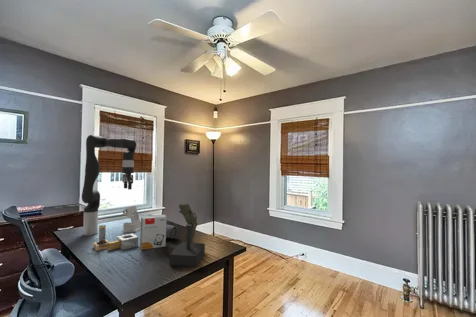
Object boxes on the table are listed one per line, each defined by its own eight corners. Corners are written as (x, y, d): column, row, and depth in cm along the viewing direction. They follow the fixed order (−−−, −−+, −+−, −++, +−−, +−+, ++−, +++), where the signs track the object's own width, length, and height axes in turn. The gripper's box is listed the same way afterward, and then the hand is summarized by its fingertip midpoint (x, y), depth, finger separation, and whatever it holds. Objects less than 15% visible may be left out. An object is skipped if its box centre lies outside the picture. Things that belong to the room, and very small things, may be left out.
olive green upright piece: (203, 246, 150) (194, 201, 153) (198, 250, 143) (189, 203, 146) (185, 248, 155) (177, 204, 157) (179, 252, 148) (171, 206, 150)
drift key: (107, 249, 144) (108, 242, 144) (123, 245, 150) (123, 239, 150) (109, 250, 142) (109, 243, 142) (124, 246, 148) (124, 240, 149)
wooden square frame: (93, 247, 148) (93, 242, 148) (107, 244, 153) (107, 239, 153) (96, 250, 142) (96, 246, 142) (110, 247, 148) (110, 242, 148)
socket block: (116, 245, 151) (117, 236, 151) (132, 242, 158) (132, 233, 158) (121, 250, 144) (122, 240, 144) (138, 246, 151) (138, 237, 151)
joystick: (179, 252, 143) (179, 220, 143) (205, 253, 141) (205, 221, 141) (166, 266, 124) (167, 229, 124) (196, 268, 122) (196, 230, 122)
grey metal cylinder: (97, 247, 148) (98, 225, 148) (104, 245, 150) (104, 224, 150) (99, 249, 145) (99, 226, 145) (106, 247, 148) (106, 225, 148)
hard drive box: (140, 250, 144) (141, 218, 144) (139, 246, 151) (140, 216, 151) (166, 246, 151) (166, 216, 151) (164, 242, 158) (164, 214, 158)
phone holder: (133, 232, 179) (133, 209, 179) (121, 232, 180) (121, 209, 180) (145, 226, 196) (145, 205, 196) (134, 226, 197) (134, 205, 197)
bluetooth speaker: (144, 237, 169) (144, 223, 169) (153, 233, 177) (153, 220, 177) (169, 241, 160) (169, 227, 160) (177, 237, 169) (177, 224, 169)
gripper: (137, 166, 162) (136, 189, 162) (129, 166, 172) (129, 187, 172) (126, 166, 157) (125, 190, 157) (119, 166, 167) (118, 188, 167)
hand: (127, 188), depth 164 cm, fingers open, 8 cm apart
